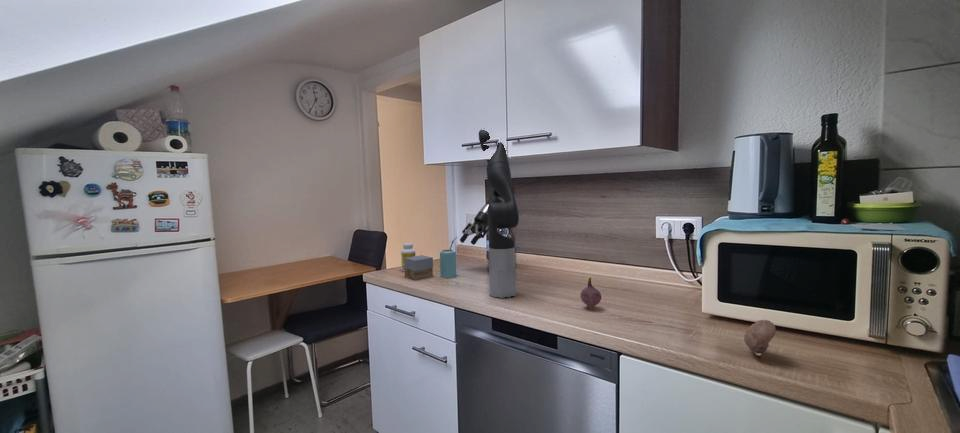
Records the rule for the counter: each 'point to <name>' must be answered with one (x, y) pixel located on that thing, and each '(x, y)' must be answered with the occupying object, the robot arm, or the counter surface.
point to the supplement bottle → (407, 253)
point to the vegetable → (590, 295)
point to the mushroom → (759, 335)
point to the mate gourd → (451, 246)
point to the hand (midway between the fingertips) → (466, 242)
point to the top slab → (418, 263)
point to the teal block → (448, 264)
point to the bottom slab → (418, 274)
